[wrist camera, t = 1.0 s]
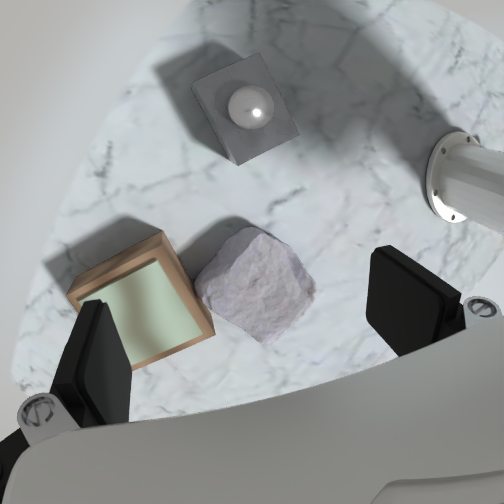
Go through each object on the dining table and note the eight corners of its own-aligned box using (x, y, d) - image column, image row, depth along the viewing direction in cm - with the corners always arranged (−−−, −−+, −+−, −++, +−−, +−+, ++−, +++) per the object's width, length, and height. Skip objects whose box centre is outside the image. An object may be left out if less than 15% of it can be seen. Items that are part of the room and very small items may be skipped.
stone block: (242, 211, 35) (184, 285, 34) (261, 218, 30) (193, 302, 30) (310, 272, 40) (259, 336, 39) (333, 285, 36) (277, 356, 35)
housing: (247, 61, 27) (263, 49, 22) (283, 133, 31) (304, 135, 25) (190, 88, 27) (194, 80, 22) (229, 160, 30) (240, 167, 25)
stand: (162, 230, 31) (161, 246, 27) (210, 313, 36) (216, 337, 32) (75, 277, 31) (64, 297, 27) (129, 350, 36) (127, 375, 32)
